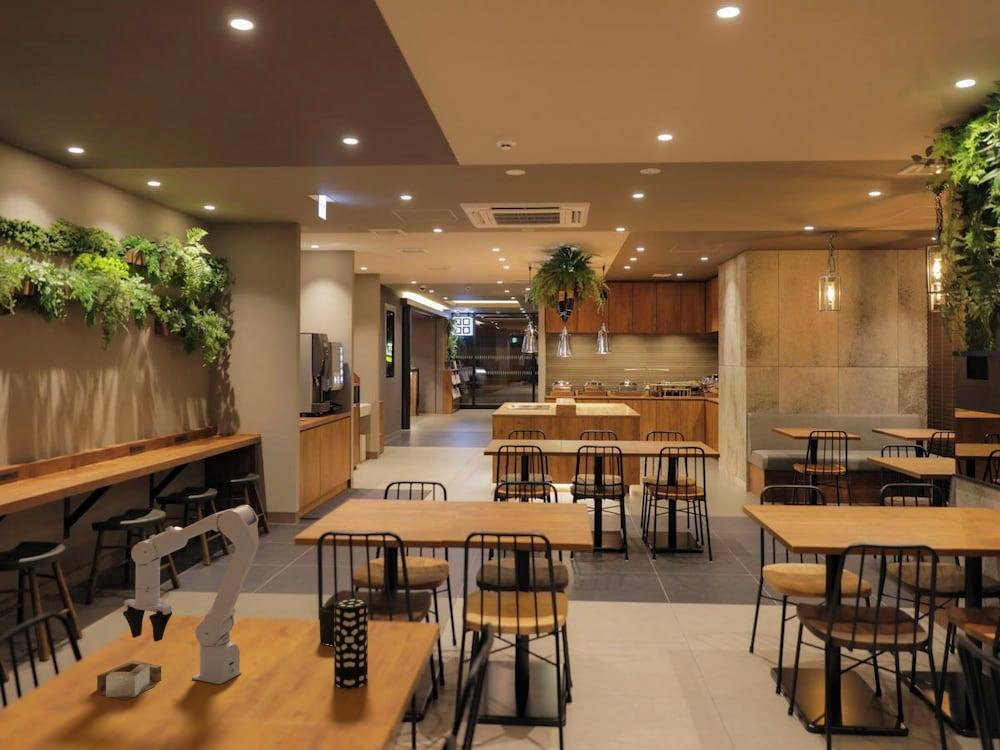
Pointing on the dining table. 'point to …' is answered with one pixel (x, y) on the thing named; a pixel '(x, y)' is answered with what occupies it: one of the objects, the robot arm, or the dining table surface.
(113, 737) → the dining table surface
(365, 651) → the white-spotted black cylinder
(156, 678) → the corner jig
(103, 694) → the L-shaped mat
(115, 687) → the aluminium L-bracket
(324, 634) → the pen holder
